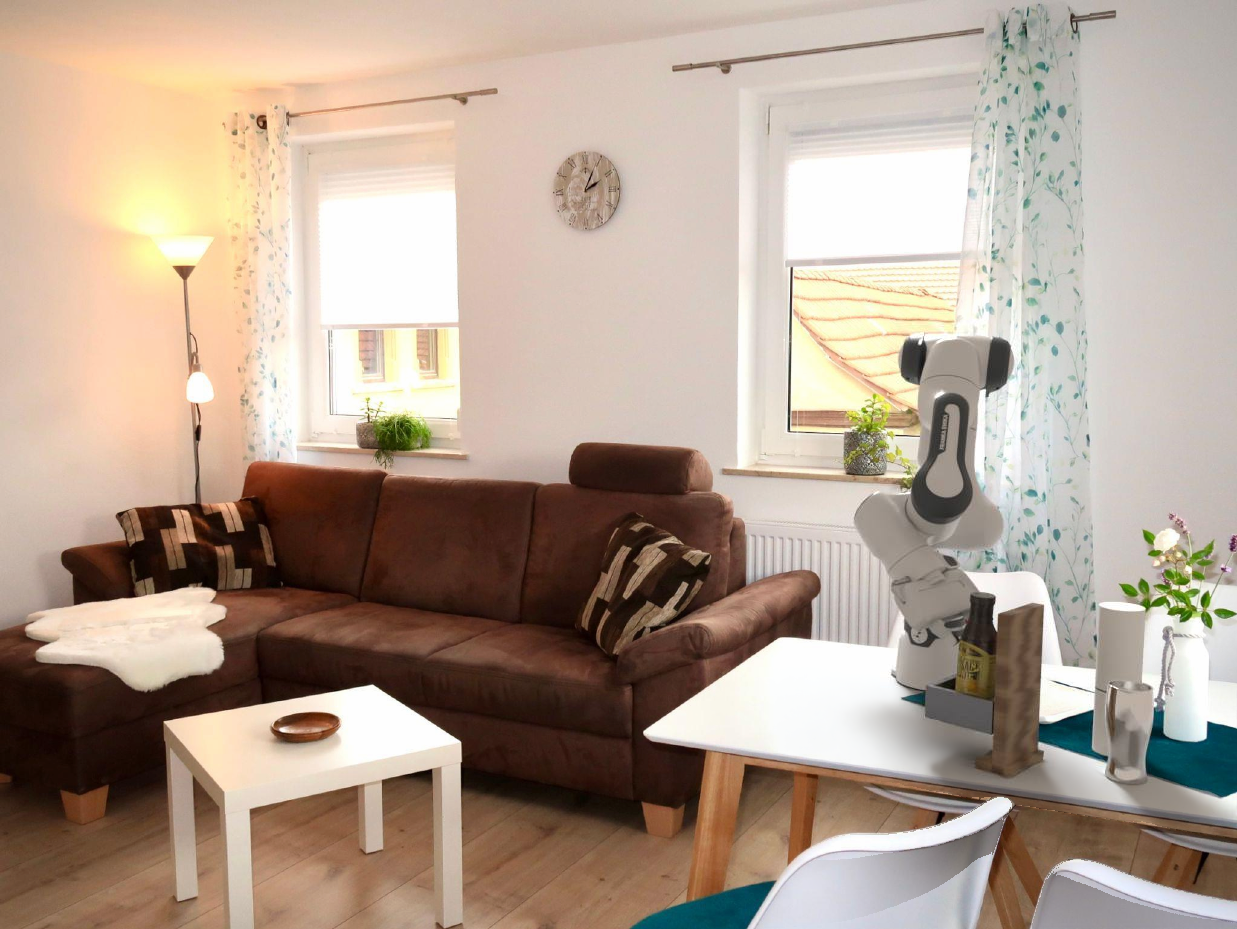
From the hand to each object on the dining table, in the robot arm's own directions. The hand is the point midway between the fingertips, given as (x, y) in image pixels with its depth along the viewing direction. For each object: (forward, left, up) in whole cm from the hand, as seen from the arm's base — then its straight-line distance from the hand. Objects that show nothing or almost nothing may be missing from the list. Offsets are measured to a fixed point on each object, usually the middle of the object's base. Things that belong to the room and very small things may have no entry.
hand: (969, 639), depth 181 cm
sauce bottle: (0, +1, -12) cm, 12 cm away
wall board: (0, +8, -19) cm, 21 cm away
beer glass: (-8, +23, -19) cm, 31 cm away
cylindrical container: (-19, +17, -19) cm, 32 cm away
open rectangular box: (0, +2, -13) cm, 13 cm away
